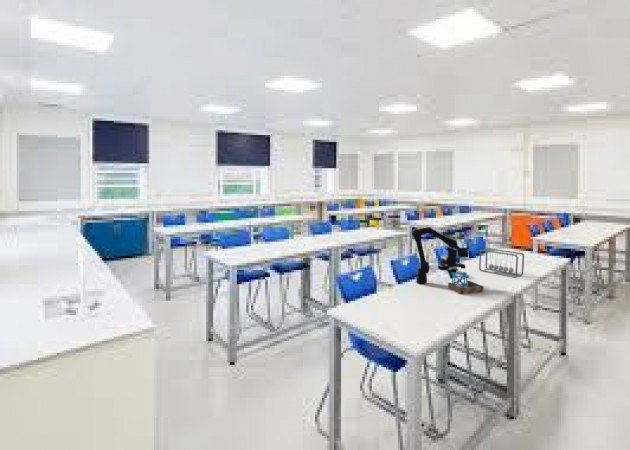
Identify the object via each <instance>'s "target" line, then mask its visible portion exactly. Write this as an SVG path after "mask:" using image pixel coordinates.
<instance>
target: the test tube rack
mask: <svg viewBox="0 0 630 450" xmlns="http://www.w3.org/2000/svg"><path fill="white" fill-rule="evenodd" d="M440 257H441V259H444V260H446V258H448V254H446V253H443V255H440ZM456 263H458V262H457V261H456ZM446 266H448V265H446ZM441 271H442V272H444V273H445V274H447V275H448V276H449V273H448V271H447V270H441ZM455 275H456V276H458V274H455Z"/></svg>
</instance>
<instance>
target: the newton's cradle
mask: <svg viewBox="0 0 630 450" xmlns="http://www.w3.org/2000/svg"><path fill="white" fill-rule="evenodd" d="M482 252H485V265H484V266H485V267H484V268H485V269H481V267H482V266H481V265H482ZM488 253H490V259H493V257H494V255H492V257H491V253H492V254H497V255H496V257H498V254H499V255H501V257H503V255H505V256H506V257H508V256H512V259H513V256H514V257H515V270H514V268H513V267H512V264H513V263H512V262H509V264H510V266H509V268H508V267H507V265H504V266H503V265H502V262H503V260H500V265H497V259H494V261H495V264H492V262H490V264H488ZM519 255H521V256H522V260H521V262H522V263H521V273H518V263H519ZM478 260H479V263H478V269H479V271H480V272H483V273H489V274H494V275H499V276H503V277H507V278H508V277H509V278H513V279H515V278H517V277H519V276H520V277H521V276H524V269H525V254H524V253H522V252H518V251H512V250H504V249H496V248H489V247H488V248H486V249H485V248H484V249H480V250H479V259H478ZM507 262H508V260H505V264H507ZM488 270H489V271H488ZM514 271H515V273H514Z"/></svg>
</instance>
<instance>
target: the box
mask: <svg viewBox="0 0 630 450" xmlns="http://www.w3.org/2000/svg"><path fill="white" fill-rule="evenodd" d="M467 286H468V287H465V286H463V287H464V288H461V287H462V286H460V285H454V284H452V282H448V283H447V289H448V290H450V291H453V292H455V293H457V294H459V295H469V294H479V293H483V292H484V286H483V285H481V284H479V283H477V282H474V281H471V280H467Z"/></svg>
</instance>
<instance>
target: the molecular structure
mask: <svg viewBox="0 0 630 450" xmlns="http://www.w3.org/2000/svg"><path fill="white" fill-rule="evenodd" d="M451 274H452V279H451V280H452V281H451V283H452V284H454V285H457V286H460V287H461V288H464V287H468V286H467V281H468V279H469V278H470V277H469V276H470V275H468V274H467V272H466V271H463V272H456V273H454V272H451ZM456 275H457V276H456ZM462 280H463V281H462Z"/></svg>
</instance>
